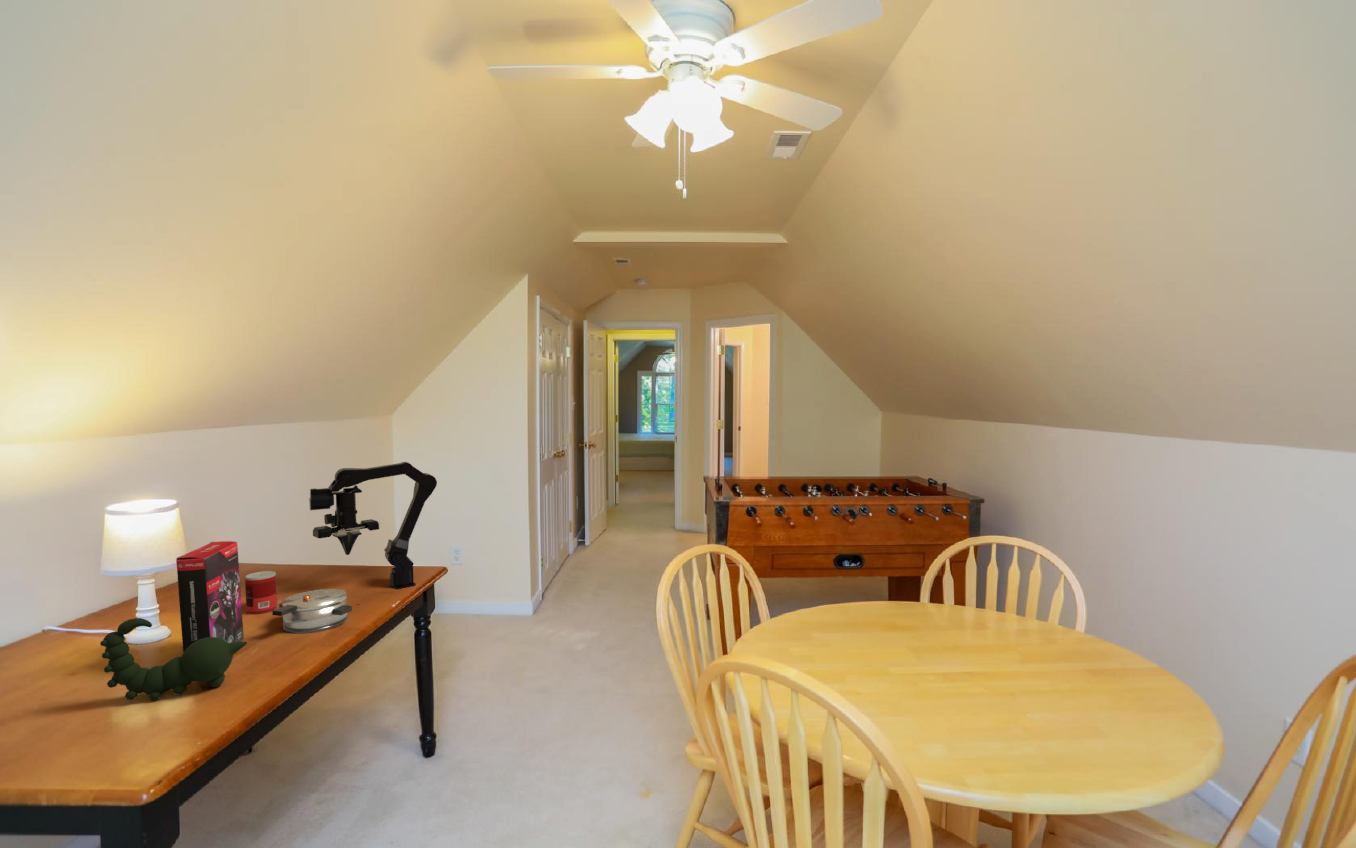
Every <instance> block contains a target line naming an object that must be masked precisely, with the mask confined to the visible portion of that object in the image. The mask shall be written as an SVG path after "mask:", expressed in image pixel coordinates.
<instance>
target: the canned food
mask: <svg viewBox="0 0 1356 848" xmlns="http://www.w3.org/2000/svg"><path fill="white" fill-rule="evenodd" d="M244 585H245V586H244V588H245V590H244V591H245V606H246V607H245V608H246V612H247V614H250V615H261V614H266V613H269V612H272V611H273V610H276V609H277V606H278V599H277V598H278V597H277V595H278V593H277V591H278V590H277V573H276V571H274V570H273V571H272V570H264V571H257V572H253V573H249V574H247V575H245V576H244Z"/></svg>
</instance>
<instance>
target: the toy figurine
mask: <svg viewBox="0 0 1356 848" xmlns="http://www.w3.org/2000/svg"><path fill="white" fill-rule="evenodd" d="M139 627H147V628H152V627H153V624H152V622H150V621H149V620H148V619H145V618H141V617H139V618H138V617H134V618H129V619H127V620H124V621H123V622H122V623H120V624H119V625H118V627H117V631H111V632H109V633H107V634H106V635H105V636H104V638H103V639H102V640H101V641H100V644H99V645H100V646H101V647H104V648H105V649H104V652H103V653H102V654H101V657H102V659H107V660H108V662H107V665H106V666H105V667H104V668H103V671H104V673H111V672H112V673H113V674H112V677H111V679H109V680H108V681H107V682H106V684H107V685H106V686H107V687H109V688H110V689H113V688H115V687H117V685H120V686H125V688H126V690H127V692H125V695H124V698H125V699H126V700H128V701H132V700H134V699H136V698H137V697H138V695H139V694H142V693H143V694H145V695H148V698H149V700H150V701H153V702H156V701H158V700H159V699H160V698H161V697H162V695H164V694H166V693H167V692H169V691H170V690H172V693H173V694H174V695H176V696H180V695H181V696H182V695H183V694H185V692H186V691H187V690H188V686H190V685H191V684H192V683H194V682H195V683H206V684H207V685H208V686H209V687H210V688H217V687H219V686H221V685H222V684H224V681H225V677H226V675H225V673H226V671H227V670H228V669H229V668H230V666H231V665H232V663H233V662H232V661H233V659H234V658H233V657H234V655H235V654H236V653H238V652H239V651H240V650H242V648H244V647H245V646H246V645H247V644H248V642H247V641H241V642H235V643H227V642H226V641H225V640H223V639H220V638H216V637H207V638H203V639H200V640H198V641H196V642H194V643H193V644H191V645H190V646H189V647H188V648H187V649H186V650H185V651H184V653H183V652H182V655H181V656H176V657H173V658H171V659H169V660H168V661H167V662H166V663H165V664H163V665H162V664H161V665H155V666H152V667H151V668H147V667H143V668H142V667H141V665H139V663H137V662H135V657H134V655H133V654H132V653H131V652H129V651H130V646H129V644H128V643H127V642H125V640H126V638H125V635H127V634H130V633H131V632H132V631H133V630H134V629H136V628H139Z"/></svg>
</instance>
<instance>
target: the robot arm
mask: <svg viewBox="0 0 1356 848" xmlns="http://www.w3.org/2000/svg"><path fill="white" fill-rule="evenodd" d="M400 475H405V476H407V477H408V478H410V479H411V480H413V481H414V486H413V495H412V498H411V501H410V504H409V506H408V508H407V510H406V513H405V516H404V518H403V520H402V523H401V525H400V527H399V530H398V533H397V534H396V536H395V538H393V539H389V538H388V541H387V545H386V547H385V548H384V549H383V550H384V552H385V553H384V557H385V559H386V561H387V562H388V564H390V565H391V566H393V567H391V569H390V573H389V586H391V587H392V586H393V588H394V587H395V588H394V589H396V588H397V590H398V589H404V588H407V587H412V586H416V585H417V583H416V582H414V579H415V578H414V562H413V561H412V559H410V558H409V557H408V553H409V552H408V551H409V545H410V539H411V537H412V534H413V532H414V530H415V527H416V525H417V522H418V519H419V518H420V515H421V513H422V510H423V507H424V505H425V503H426V501H427V500H428V499H429V498H430V496H431V495H432V494H433V492H434V491H435V489H436V487H437V485H438V481H437V478H436V477H435V476H434V475H431V474H430V473H428V472H427V473H426V472H422V471H420V469H417V468H416V466H415V467H414V466H413V465H412V464H411V463H410V462H408V461H402V462H399V463H393V464H386V465H381V466H374V467H366V468H365V467H364V468H357V467H354V468H353V467H347V468H346V467H342V468H340V469H338V470H337V471H336V472H335V474H334V479H333V481H332V482H331V483H330V484H329V486H328V487H325V488H323V487H322V488H310V489H309V498H308V499H309V509H310V510H309V511H318V510H319V511H320V510H329V509H331V507H333V506H334V505H335V509H334V514H332V513H326V514H325V515H324V517H323V518H324V520H323V521H324V524H325V525H322V526H316V527H315V526H314V528H313V530H312V536H313V537H315V538H317V539H326V538H330V537H331V536H332V537H335V538H336V539H338V541H339V542H340V544H341V546H342V548H343V552H344V554H345V555H346V556H349V555H350V554H351V552H352V550H353V547H354V545H355V542H356V541H357V539H358V537H359V536H360V535H362V532H361V530H364V529H367V530H368V531H377V530H378V531H379V529H380V523H379V521H378V520H376V519H364V520H361V521H360V522H359V523H358V522H357V514H358V510H357V506H356V505H357V503H356V502H357V501H356V499H357V498H356V497H357V496H356V494H360V493H363V490H362V489H361V488H359V487H358V485H359V484H361V483H363V482H368V481H369V480H370V481H371V480H375V479H383V478H388V477H389V478H390V477H394V476H395V477H397V476H400ZM328 525H330V526H328Z"/></svg>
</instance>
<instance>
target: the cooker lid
mask: <svg viewBox="0 0 1356 848" xmlns="http://www.w3.org/2000/svg"><path fill="white" fill-rule="evenodd" d="M347 594H348V593H347V592H346V590H344V589H339V588H322V589H314V590H309V591H308V590H307V591H303V592H299V593H296V594H295V593H294V594H293V595H290V596H288V597H286V598H284V599H283V601H282V602H281V603H282V606H283V607H281V608H279V607H278V608H276V609H274V610H272V611H271V613H272V616H277V617H283V615H286V614H288V613H291V612H293V611H310V610H317V609H323V608H327V607H331V606H334V605H337V604H339V603H341V602H343V601H345V600H346V598H347V597H348V596H347Z"/></svg>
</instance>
